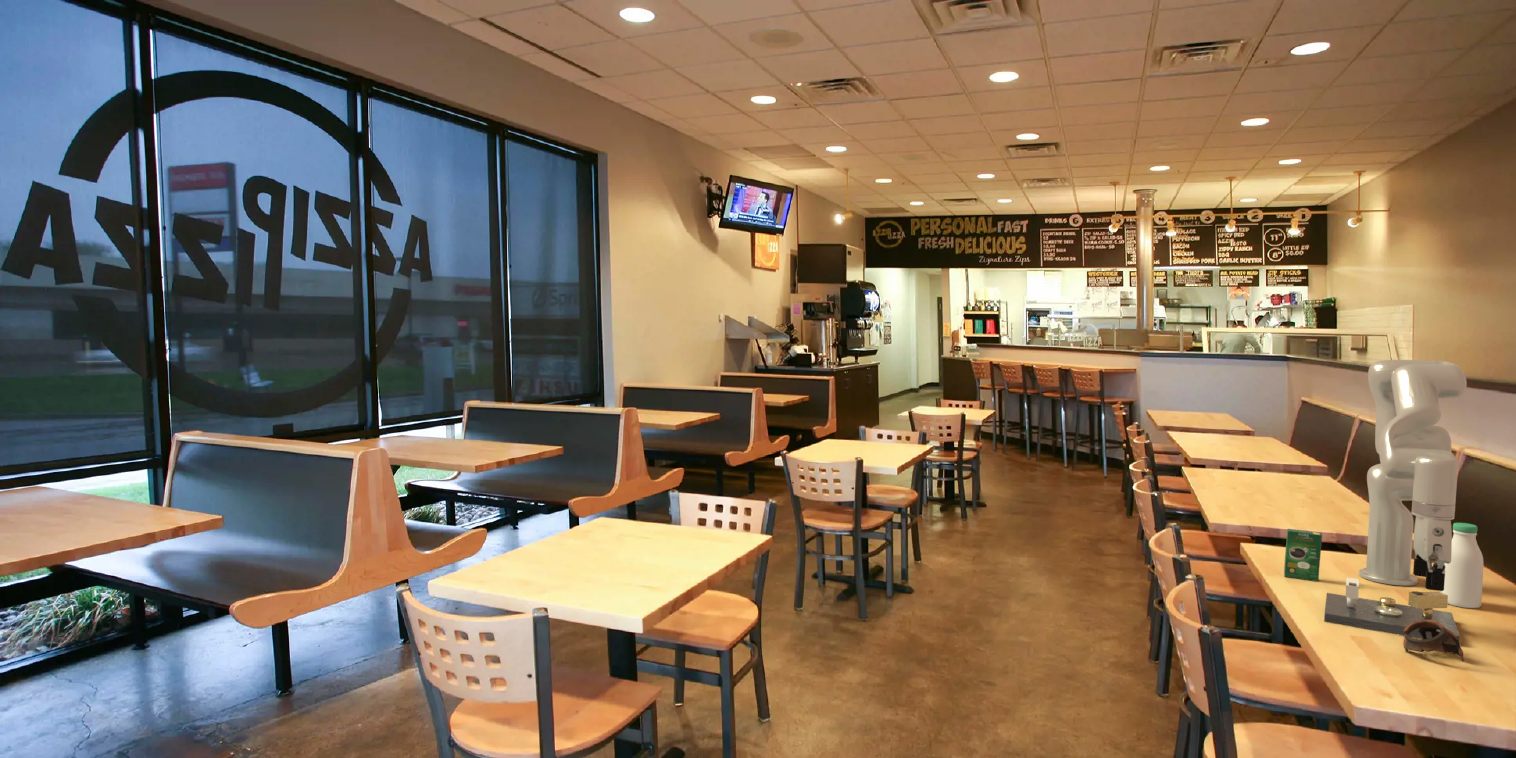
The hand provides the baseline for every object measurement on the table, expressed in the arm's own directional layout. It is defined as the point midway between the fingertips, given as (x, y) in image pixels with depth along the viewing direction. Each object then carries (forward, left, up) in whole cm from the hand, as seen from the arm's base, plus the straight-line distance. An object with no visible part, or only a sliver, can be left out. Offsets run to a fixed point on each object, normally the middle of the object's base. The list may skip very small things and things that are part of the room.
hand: (1428, 582), depth 187 cm
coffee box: (-26, -25, -11) cm, 38 cm away
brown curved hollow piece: (+19, 0, -11) cm, 22 cm away
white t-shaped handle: (+1, -14, -8) cm, 16 cm away
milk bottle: (-25, +8, -11) cm, 29 cm away
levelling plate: (+1, -7, -10) cm, 12 cm away
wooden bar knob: (+1, 0, -8) cm, 8 cm away
